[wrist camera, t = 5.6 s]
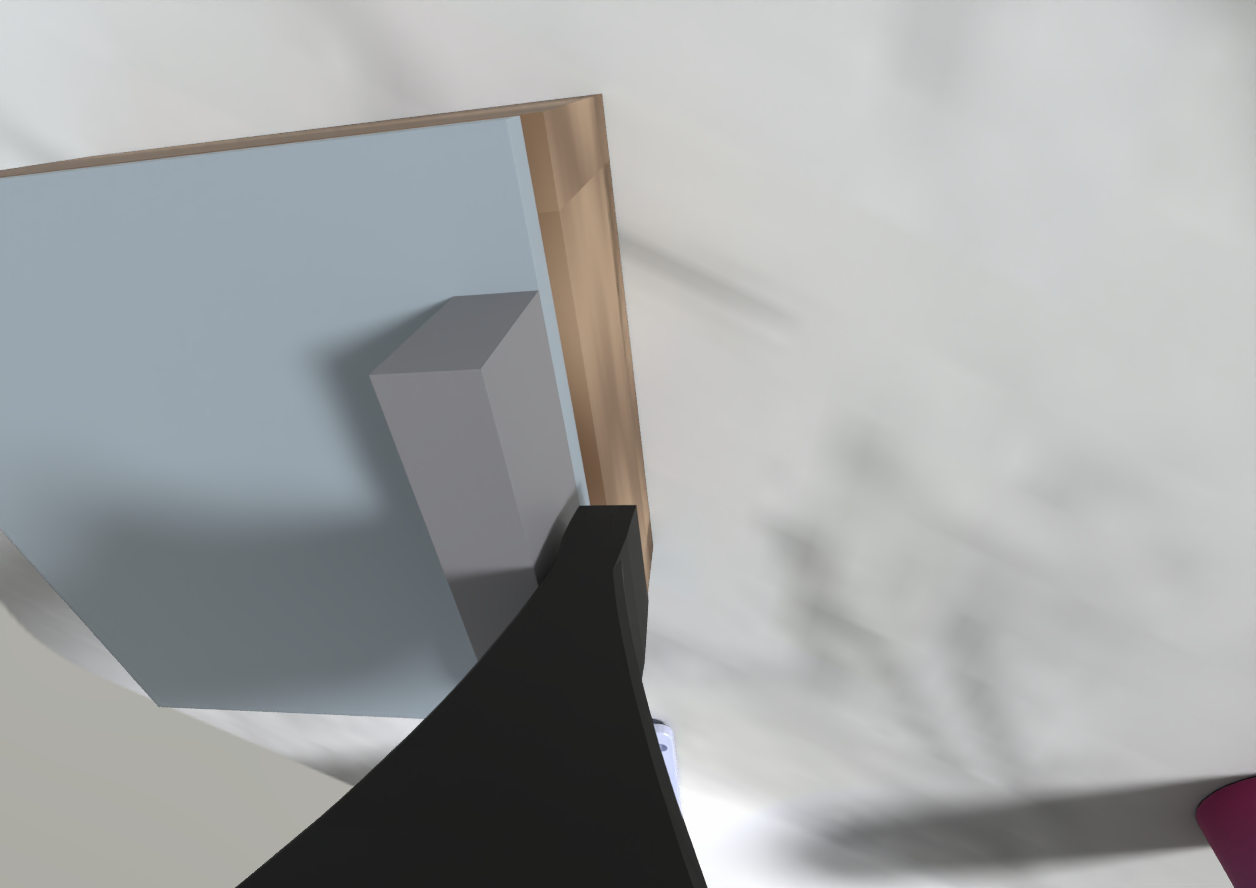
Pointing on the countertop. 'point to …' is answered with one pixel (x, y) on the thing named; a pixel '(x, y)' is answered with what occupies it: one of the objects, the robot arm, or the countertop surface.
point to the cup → (1232, 830)
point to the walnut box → (576, 261)
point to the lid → (288, 413)
